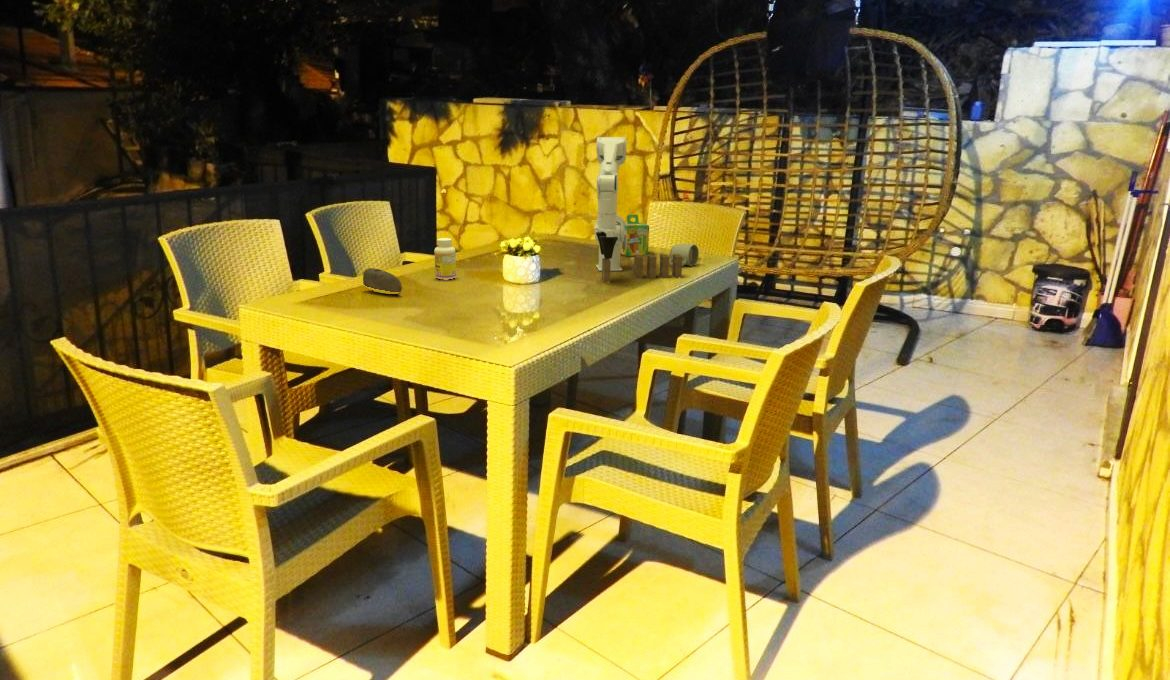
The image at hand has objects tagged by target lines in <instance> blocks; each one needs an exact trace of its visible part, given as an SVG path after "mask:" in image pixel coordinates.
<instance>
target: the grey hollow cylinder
mask: <svg viewBox="0 0 1170 680" xmlns="http://www.w3.org/2000/svg"><path fill="white" fill-rule="evenodd" d="M699 252H700V251H699V248H698V246H697V244H695V243H677V244H673V246H672V247H671V248H670V252H669V267H671V266H672V264H673V254H679V255H681V256H682V267H683V266H685V265H687V267H694V266H693V265H695V266H696V265H697V263H698V261H699V255H700V254H699Z"/></svg>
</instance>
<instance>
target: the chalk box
mask: <svg viewBox="0 0 1170 680" xmlns="http://www.w3.org/2000/svg"><path fill="white" fill-rule="evenodd" d="M632 218H634V219H635V220H634V221H631V219H632ZM626 220H627V222H624V241H623V242H621V243H620V255H622V256H624V257H625V256H626V257H634V255H647V254H649V245H650V244H649V241H650V240H649V239H650V225H649V224H646V223H643V222H639V215H638V214H627V215H626Z"/></svg>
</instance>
